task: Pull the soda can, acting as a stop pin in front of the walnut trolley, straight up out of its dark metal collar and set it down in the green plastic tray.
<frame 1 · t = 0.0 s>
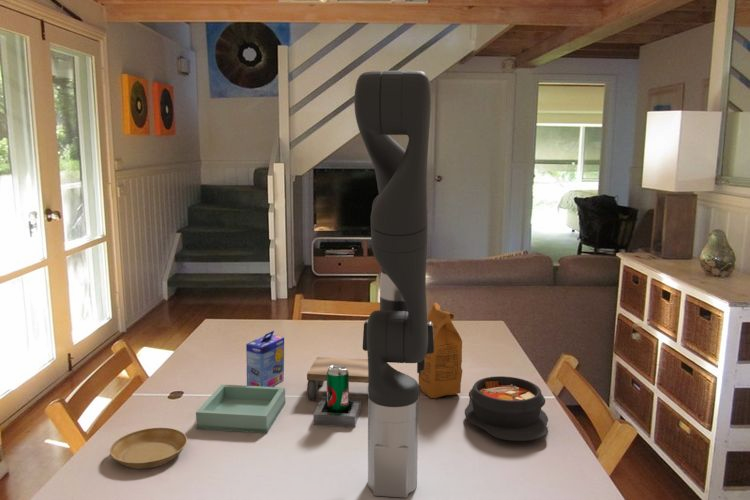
hand: (398, 370, 127), 17 cm above the table, tool pointing down, fingers open, 8 cm apart
casserole: (505, 423, 143), on the table
soda can: (337, 417, 145), resting in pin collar
tray: (243, 415, 145), on the table
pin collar: (337, 416, 145), on the table
coffee package: (438, 390, 161), on the table
ink cartridge box: (266, 385, 164), on the table
plant saucer: (150, 456, 127), on the table
trolley: (347, 392, 159), on the table
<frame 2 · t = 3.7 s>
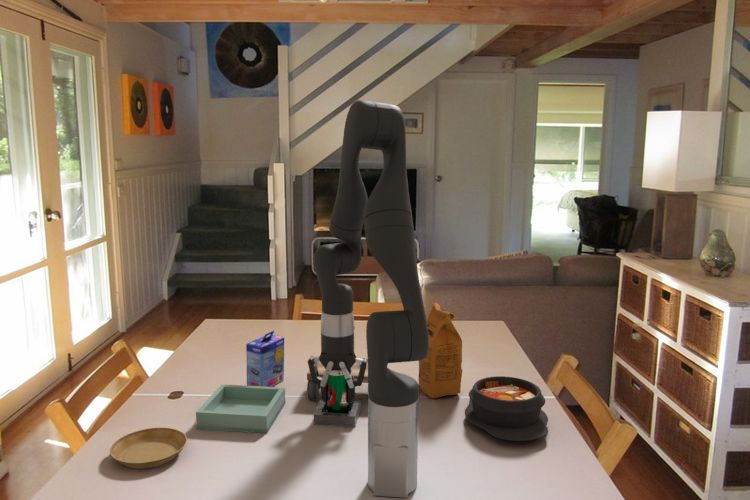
hand: (338, 401, 144), 4 cm above the table, tool pointing down, fingers closed on soda can, 5 cm apart
soda can: (337, 417, 145), resting in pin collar, touching gripper
everything else where it was.
when the fingers open (6 cm above the table, at t = 10.8 s): soda can drops 1 cm, resting on tray.
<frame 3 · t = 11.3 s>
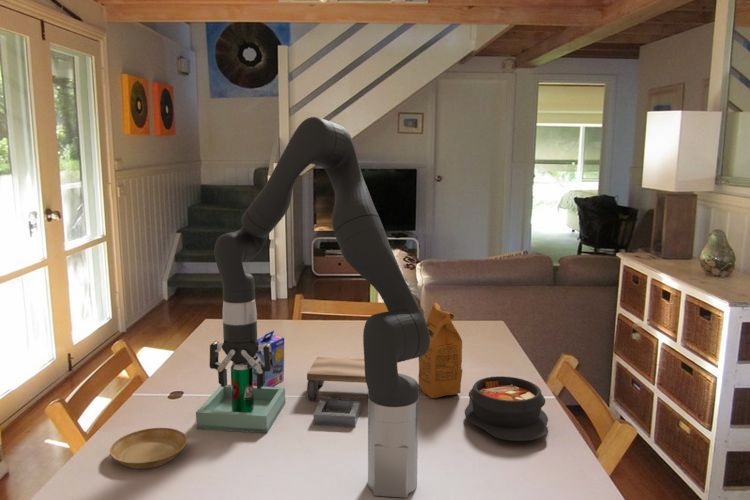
hand: (242, 386, 144), 7 cm above the table, tool pointing down, fingers open, 8 cm apart
soda can: (242, 412, 145), point 1 cm above the table, touching tray
everything else where it was.
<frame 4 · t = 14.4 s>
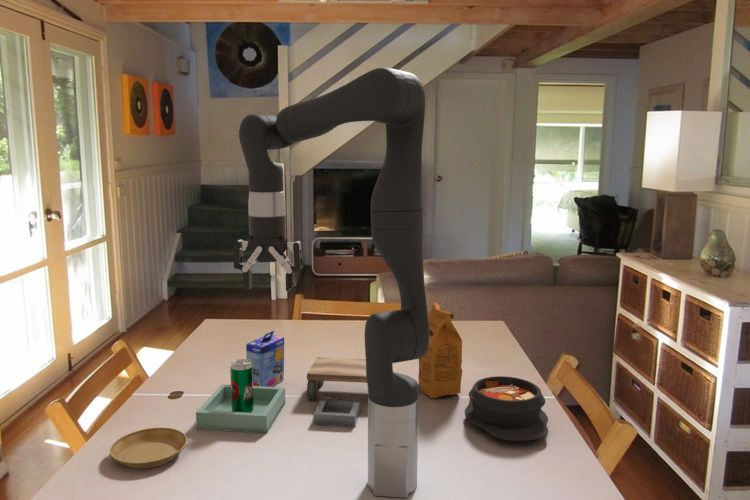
hand: (269, 289, 132), 32 cm above the table, tool pointing down, fingers open, 8 cm apart
nothing on the table moved.
at the end: soda can inside the target area on the tray (0.1 cm from its centre), point 0.8 cm above the tray's base; the gripper is holding nothing; soda can tilted 0° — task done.
